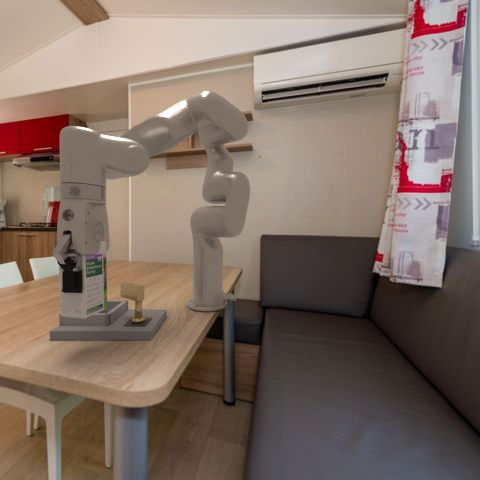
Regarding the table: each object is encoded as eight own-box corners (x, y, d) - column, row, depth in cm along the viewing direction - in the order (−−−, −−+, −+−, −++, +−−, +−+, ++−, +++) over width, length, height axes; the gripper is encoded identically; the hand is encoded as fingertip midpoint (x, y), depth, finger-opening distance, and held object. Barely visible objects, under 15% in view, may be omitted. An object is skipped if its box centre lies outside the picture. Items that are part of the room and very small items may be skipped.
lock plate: (166, 316, 68) (166, 300, 68) (151, 340, 54) (151, 320, 54) (86, 316, 67) (86, 300, 66) (49, 340, 53) (49, 319, 53)
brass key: (136, 324, 56) (136, 288, 56) (117, 316, 61) (117, 283, 60) (148, 319, 59) (148, 285, 59) (129, 313, 63) (129, 280, 63)
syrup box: (84, 319, 45) (84, 240, 44) (58, 316, 46) (57, 239, 45) (107, 309, 50) (107, 239, 50) (83, 307, 52) (83, 238, 51)
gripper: (76, 189, 39) (77, 301, 40) (123, 201, 56) (122, 278, 57) (27, 188, 38) (28, 300, 39) (89, 200, 56) (89, 278, 56)
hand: (84, 286), depth 48 cm, fingers closed on syrup box, 6 cm apart
